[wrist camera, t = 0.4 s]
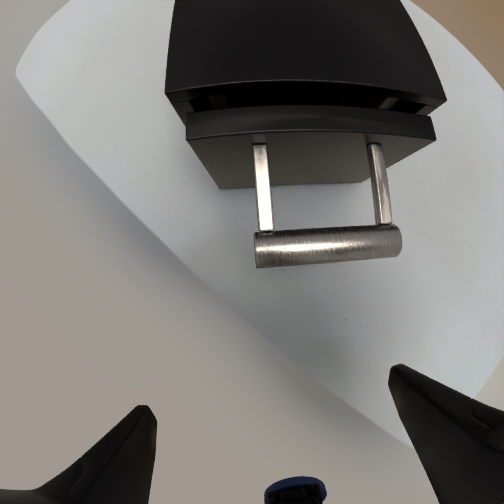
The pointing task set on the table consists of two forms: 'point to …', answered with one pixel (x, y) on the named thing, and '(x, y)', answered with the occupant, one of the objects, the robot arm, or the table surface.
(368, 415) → the table surface
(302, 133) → the drawer
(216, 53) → the dark boxy piece
